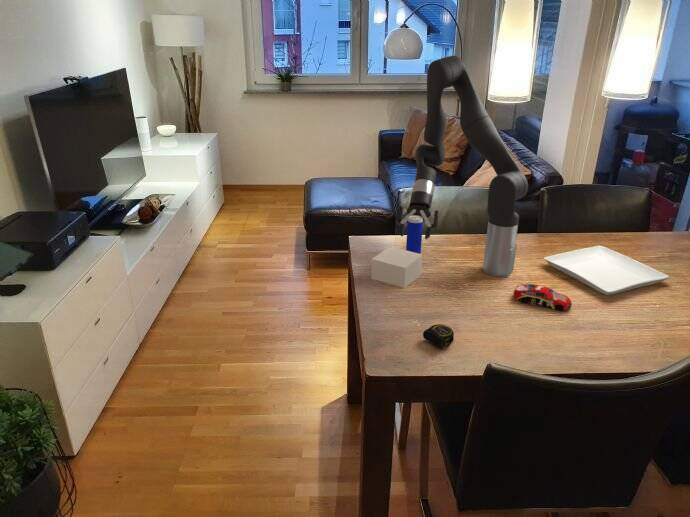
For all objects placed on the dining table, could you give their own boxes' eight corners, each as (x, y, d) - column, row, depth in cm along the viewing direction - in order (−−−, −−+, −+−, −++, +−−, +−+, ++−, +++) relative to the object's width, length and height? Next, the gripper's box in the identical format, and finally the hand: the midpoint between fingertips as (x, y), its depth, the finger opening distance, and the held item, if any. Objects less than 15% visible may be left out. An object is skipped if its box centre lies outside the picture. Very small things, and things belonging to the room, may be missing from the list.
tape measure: (421, 340, 137) (421, 328, 136) (440, 332, 141) (441, 320, 139) (439, 353, 132) (440, 340, 131) (458, 344, 136) (460, 332, 134)
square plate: (606, 303, 156) (609, 291, 154) (540, 266, 179) (542, 256, 177) (668, 285, 166) (671, 274, 165) (598, 253, 189) (600, 243, 187)
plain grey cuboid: (421, 273, 173) (422, 254, 170) (404, 288, 164) (405, 267, 161) (389, 265, 179) (390, 246, 176) (371, 278, 170) (371, 259, 167)
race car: (572, 305, 155) (575, 290, 153) (568, 315, 150) (572, 300, 147) (515, 292, 162) (518, 277, 160) (510, 301, 157) (513, 286, 154)
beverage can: (420, 255, 186) (422, 215, 180) (420, 261, 182) (423, 220, 176) (405, 254, 187) (407, 214, 181) (405, 260, 182) (407, 220, 176)
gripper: (401, 188, 184) (392, 230, 179) (441, 192, 180) (433, 235, 175) (403, 198, 191) (395, 238, 186) (442, 202, 187) (435, 243, 182)
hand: (413, 237), depth 180 cm, fingers open, 8 cm apart
